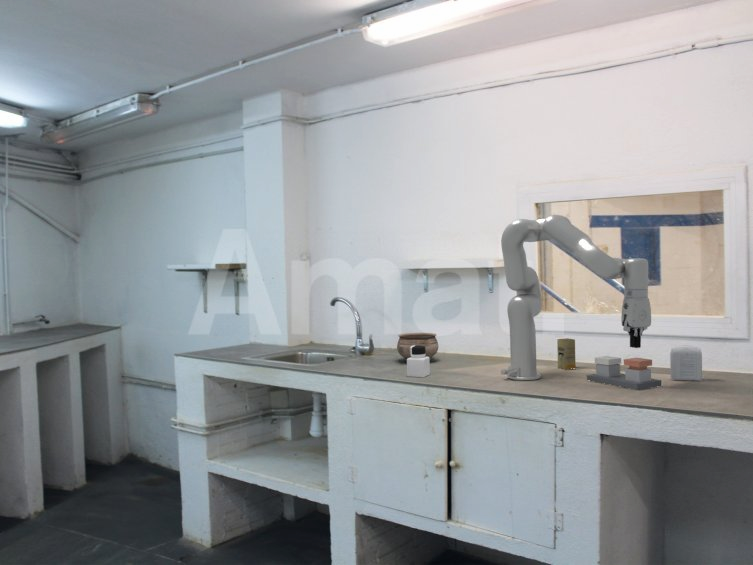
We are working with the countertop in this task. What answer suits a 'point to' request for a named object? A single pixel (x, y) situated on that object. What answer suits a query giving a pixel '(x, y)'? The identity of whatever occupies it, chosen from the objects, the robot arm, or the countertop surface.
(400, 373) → the countertop surface
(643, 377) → the block
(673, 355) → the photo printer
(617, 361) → the white plunger
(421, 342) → the cooking pot
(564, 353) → the shoe polish box
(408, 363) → the medicine bottle
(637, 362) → the salmon pink block
